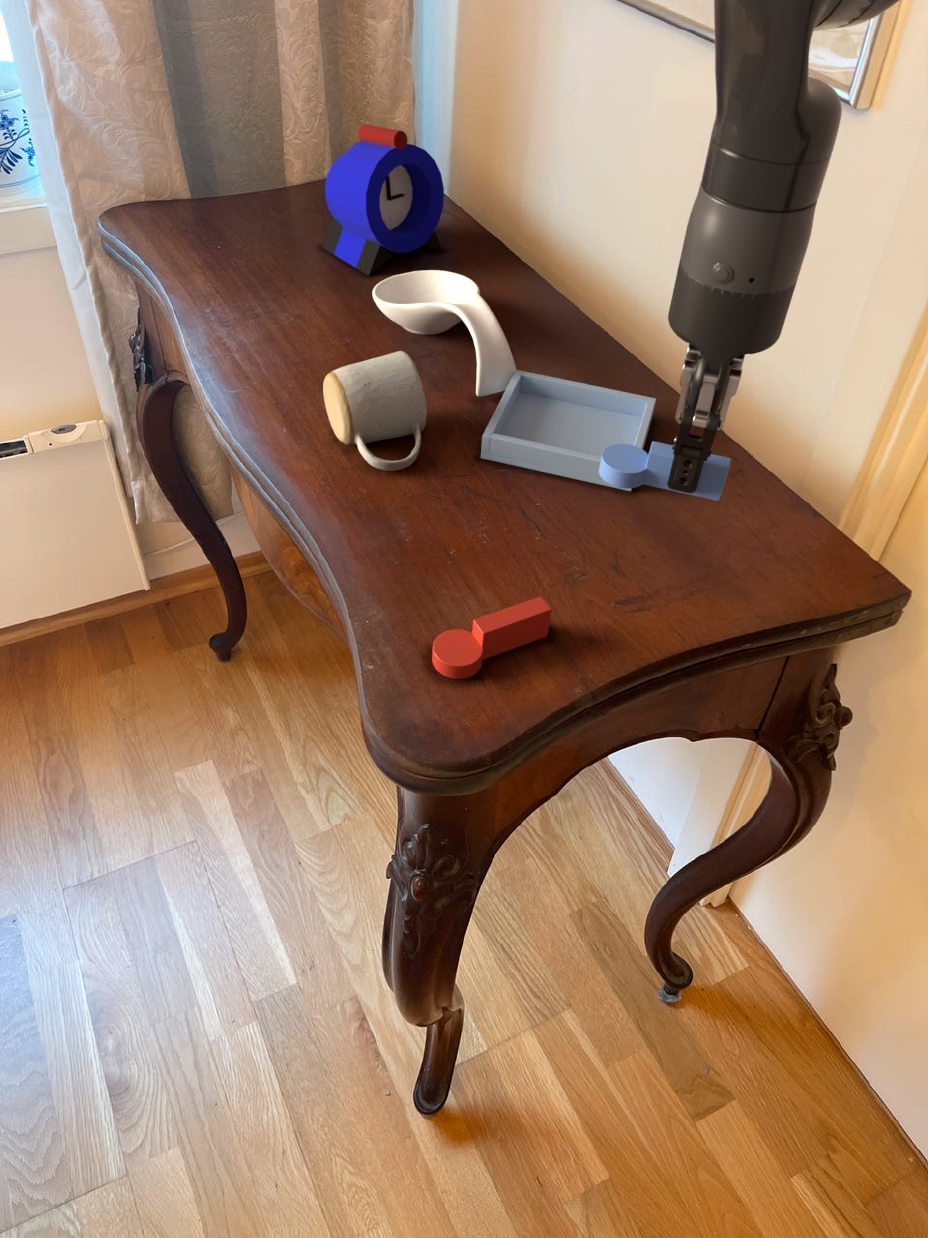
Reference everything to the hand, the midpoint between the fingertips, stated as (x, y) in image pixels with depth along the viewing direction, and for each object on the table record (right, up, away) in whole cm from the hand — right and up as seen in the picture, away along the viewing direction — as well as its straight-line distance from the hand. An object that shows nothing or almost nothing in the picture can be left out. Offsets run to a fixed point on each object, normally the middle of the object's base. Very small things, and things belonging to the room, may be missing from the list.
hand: (682, 480), depth 72 cm
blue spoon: (-2, 0, +1) cm, 2 cm away
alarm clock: (-28, +37, +48) cm, 67 cm away
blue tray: (-6, +7, +20) cm, 23 cm away
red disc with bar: (-15, -13, 0) cm, 20 cm away
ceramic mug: (-25, +6, +18) cm, 32 cm away
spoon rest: (-19, +20, +32) cm, 42 cm away
